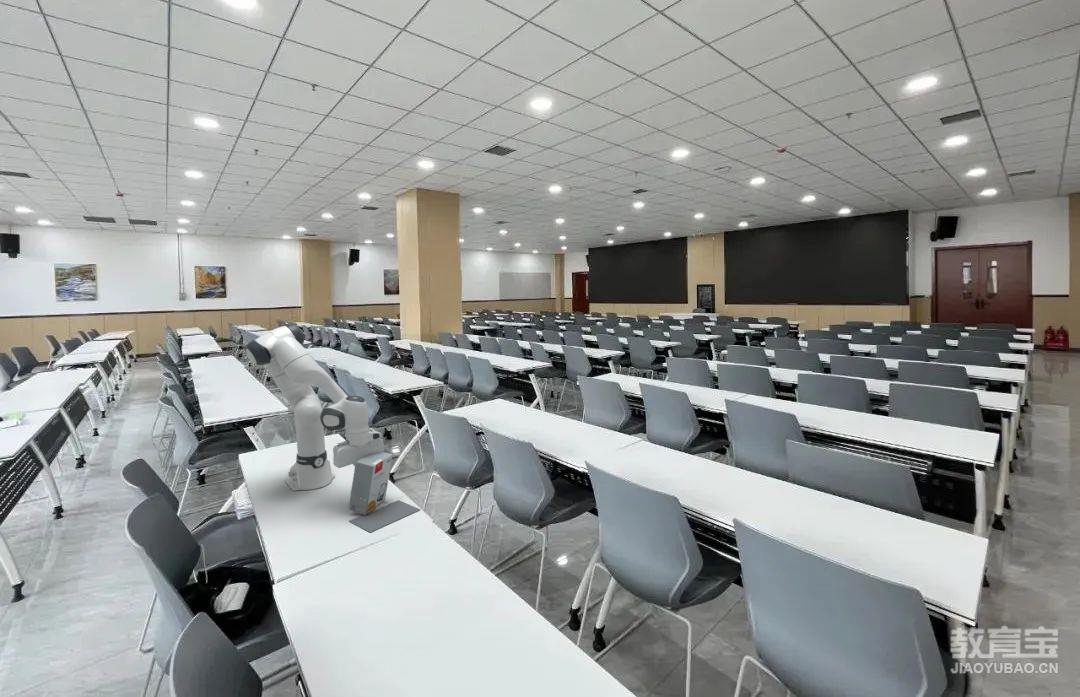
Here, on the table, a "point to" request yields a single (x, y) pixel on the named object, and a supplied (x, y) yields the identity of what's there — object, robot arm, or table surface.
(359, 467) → the hard drive box
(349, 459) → the robot arm
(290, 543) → the table surface
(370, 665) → the table surface
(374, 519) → the mat
